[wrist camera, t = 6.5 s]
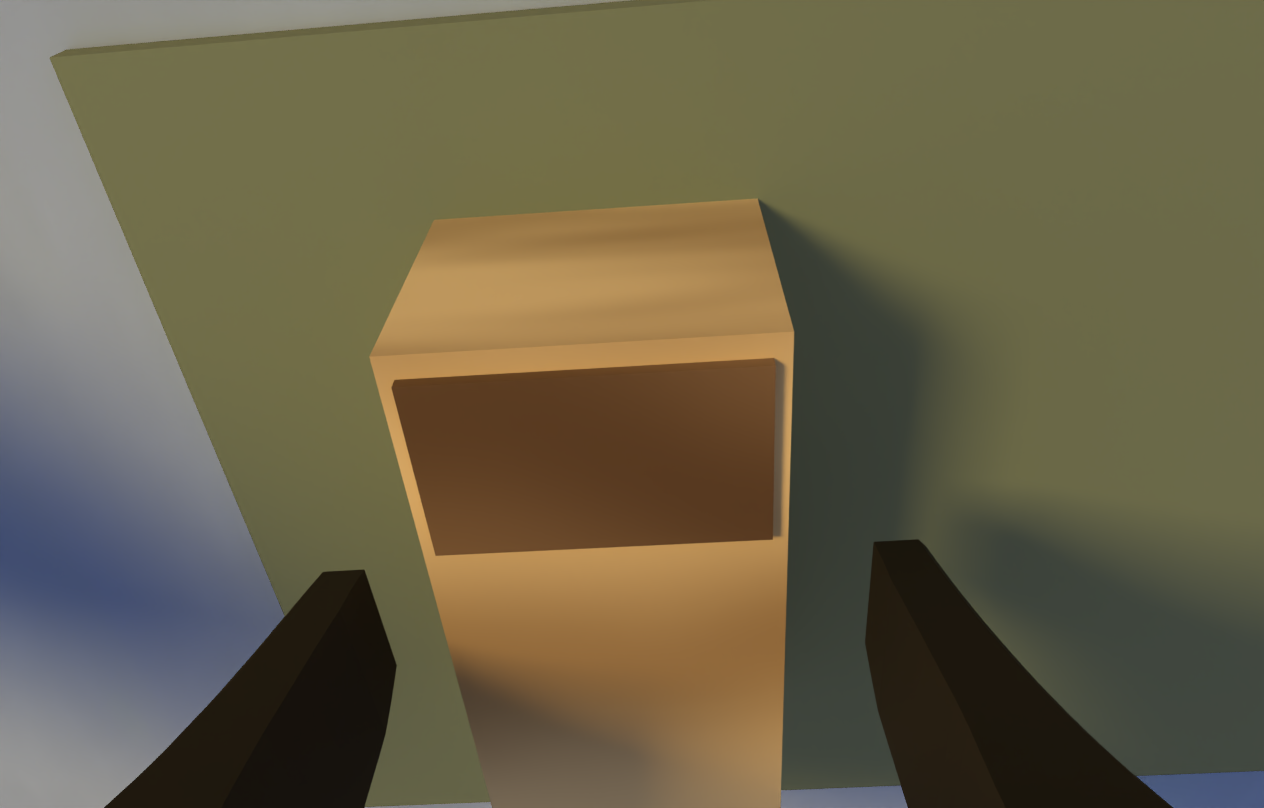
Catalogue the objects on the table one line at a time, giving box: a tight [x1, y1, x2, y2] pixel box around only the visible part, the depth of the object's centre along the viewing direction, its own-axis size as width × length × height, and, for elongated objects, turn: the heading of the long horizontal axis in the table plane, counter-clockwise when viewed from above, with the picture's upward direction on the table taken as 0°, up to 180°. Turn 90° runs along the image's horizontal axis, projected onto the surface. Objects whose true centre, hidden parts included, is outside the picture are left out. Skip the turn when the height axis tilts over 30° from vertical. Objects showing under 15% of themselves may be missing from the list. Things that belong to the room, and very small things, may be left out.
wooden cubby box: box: [369, 198, 794, 808], centre depth 14 cm, size 10×4×4 cm, turn 4°
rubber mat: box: [50, 0, 1264, 807], centre depth 15 cm, size 24×16×1 cm, turn 95°
